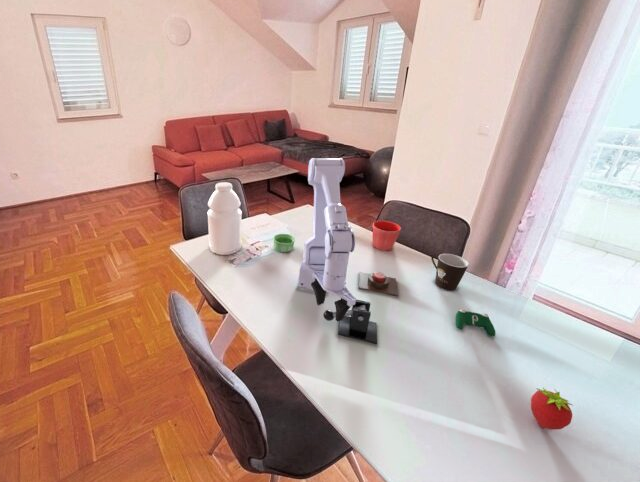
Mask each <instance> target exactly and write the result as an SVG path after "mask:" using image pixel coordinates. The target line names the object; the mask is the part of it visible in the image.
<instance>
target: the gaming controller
mask: <svg viewBox="0 0 640 482" xmlns="http://www.w3.org/2000/svg"><path fill="white" fill-rule="evenodd" d="M465 325H466V326H473V327H477V328H482V330H483V331H484V332H485V333H486V334H487V335H488V336H489V337H496V329H495V327H494V325H493V323H492V321H491V319H490V317H489V314H488V313H477V312H473V311H467V310H466V309H458V310H457V312H456V314H455V326H456V329H458V330H460V331H461V330H463V329H464V326H465Z"/></svg>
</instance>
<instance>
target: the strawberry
mask: <svg viewBox="0 0 640 482" xmlns="http://www.w3.org/2000/svg"><path fill="white" fill-rule="evenodd" d="M536 390H537V391H535V393H533V394H532V396H531V397H530V409H531V413H532V414H533V418H534V419H535V421H536V422H537V425H538V426H539V428H540V429H544V430H545V429H546V430H554V431H555V430H557V431H558V430H563V429H564V428H566V427H568V426H569V425H571V422H572V419H573V412H572V409H571V407H570V406H573V404H572V403H570V402H569V400H568V399H565V398H563V397H561V392H560V391H557V390H556V389H554V390H555V392H553V391H550V390H547V389H545V388H544V387H543V388H542V389H541V388H538V387H536Z"/></svg>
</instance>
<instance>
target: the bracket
mask: <svg viewBox="0 0 640 482" xmlns="http://www.w3.org/2000/svg"><path fill="white" fill-rule="evenodd" d="M360 305H365V307H366V309H367V311H365V310H360V309H356V308H355V306H360ZM370 309H371V301H365V300H360V299H356V303H355V305H353V306H351V310H353V312H352V315H350V316H344V317H343V319H342V320H340V321H338V322H339V323H338V330H337V331H338V333H337V336H341V337H345V338H349V339H353V340H357V341H362V342H365V343H370V344H374V345H378V327H377V326H378V325H377V322H376V321H370V320H371V314H372V313H371V312H372V311H370Z"/></svg>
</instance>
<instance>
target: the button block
mask: <svg viewBox="0 0 640 482" xmlns="http://www.w3.org/2000/svg"><path fill="white" fill-rule="evenodd" d="M374 273H375V272H373V273H370V272H369V273H368V272H363V271H359V274H358V289H359V290H362V291H366V292H367V291H368V292H373V293H378V294H383V295H387V296H392V297H399V290H398V285H397V284H398V283H397V279H396V278H395V277H391V276H386V275H385V280H384V282H377V281H375V280H374V279H373V275H374Z"/></svg>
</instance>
